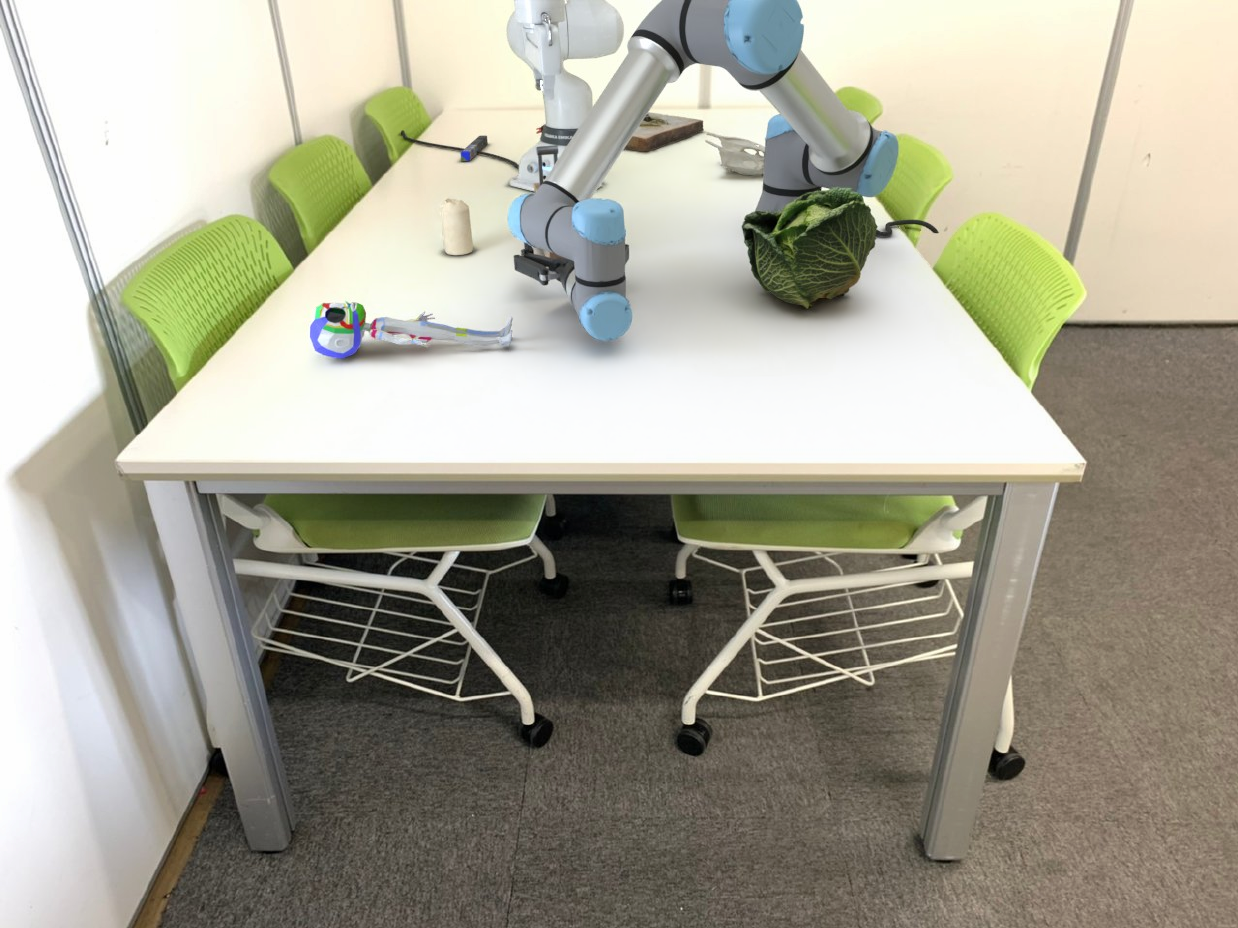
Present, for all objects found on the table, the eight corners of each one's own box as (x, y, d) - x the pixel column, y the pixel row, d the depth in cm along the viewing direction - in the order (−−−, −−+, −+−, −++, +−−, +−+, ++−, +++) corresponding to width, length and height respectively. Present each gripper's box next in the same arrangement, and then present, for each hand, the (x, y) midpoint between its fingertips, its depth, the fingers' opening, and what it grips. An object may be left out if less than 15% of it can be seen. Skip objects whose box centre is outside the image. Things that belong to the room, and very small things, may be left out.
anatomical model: (707, 129, 226) (808, 127, 222) (707, 166, 231) (805, 165, 227) (703, 143, 213) (809, 141, 210) (703, 182, 218) (807, 181, 215)
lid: (533, 188, 176) (530, 143, 171) (560, 186, 177) (558, 141, 172) (547, 212, 162) (544, 164, 158) (576, 210, 163) (574, 162, 159)
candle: (478, 247, 177) (472, 197, 172) (465, 256, 173) (459, 205, 168) (453, 245, 179) (447, 194, 174) (439, 254, 174) (433, 202, 169)
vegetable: (769, 324, 161) (717, 226, 153) (855, 264, 162) (809, 164, 154) (822, 342, 142) (766, 232, 135) (919, 274, 144) (869, 162, 136)
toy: (513, 328, 132) (301, 311, 127) (509, 379, 136) (304, 364, 132) (513, 302, 141) (314, 285, 136) (509, 351, 145) (317, 336, 140)
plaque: (647, 125, 237) (559, 112, 252) (647, 153, 241) (560, 139, 256) (706, 107, 258) (622, 97, 273) (705, 133, 262) (622, 121, 277)
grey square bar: (487, 135, 252) (468, 152, 235) (487, 143, 253) (469, 161, 236) (479, 135, 252) (460, 152, 235) (480, 143, 253) (461, 161, 236)
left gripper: (568, 16, 149) (571, 104, 156) (548, 4, 166) (552, 84, 173) (530, 17, 148) (536, 106, 155) (514, 5, 165) (520, 86, 172)
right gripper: (512, 314, 144) (496, 269, 161) (662, 298, 148) (631, 256, 166) (509, 269, 140) (493, 228, 157) (663, 254, 144) (630, 216, 162)
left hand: (544, 94), depth 164 cm, fingers open, 8 cm apart
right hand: (563, 243), depth 162 cm, fingers open, 13 cm apart
